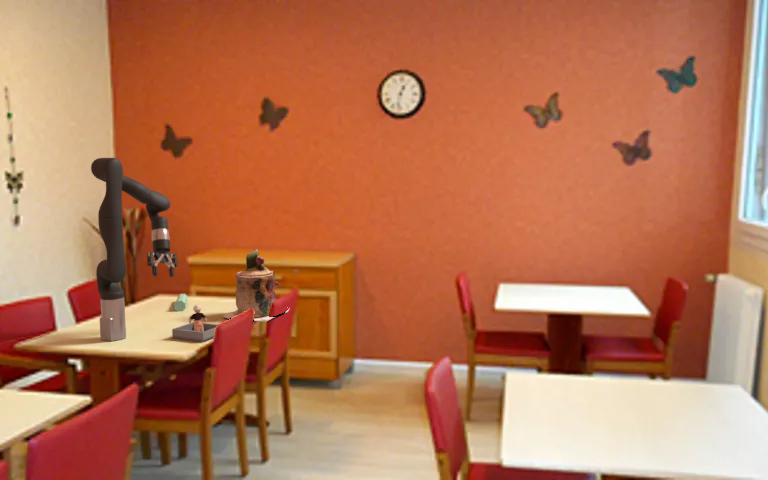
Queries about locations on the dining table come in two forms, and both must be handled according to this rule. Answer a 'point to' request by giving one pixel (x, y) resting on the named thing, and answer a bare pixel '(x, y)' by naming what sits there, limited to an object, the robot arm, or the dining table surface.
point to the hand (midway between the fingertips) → (163, 276)
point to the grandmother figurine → (198, 319)
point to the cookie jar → (255, 288)
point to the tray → (194, 332)
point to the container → (180, 302)
